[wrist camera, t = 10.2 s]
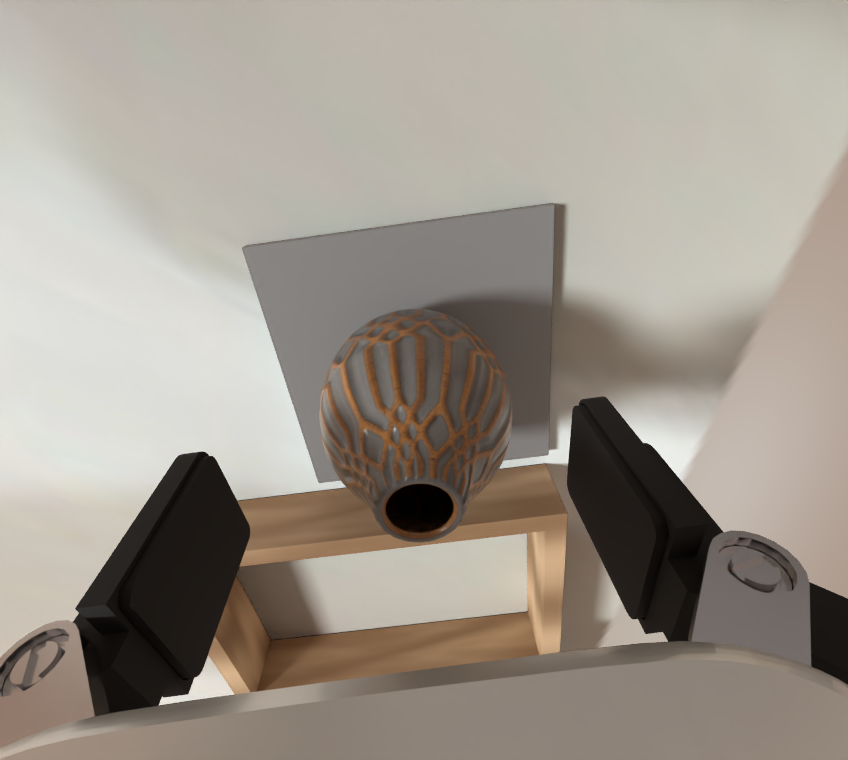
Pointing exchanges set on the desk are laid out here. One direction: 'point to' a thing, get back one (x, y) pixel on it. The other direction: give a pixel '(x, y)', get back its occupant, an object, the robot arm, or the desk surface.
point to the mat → (415, 303)
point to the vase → (416, 420)
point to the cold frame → (404, 645)
